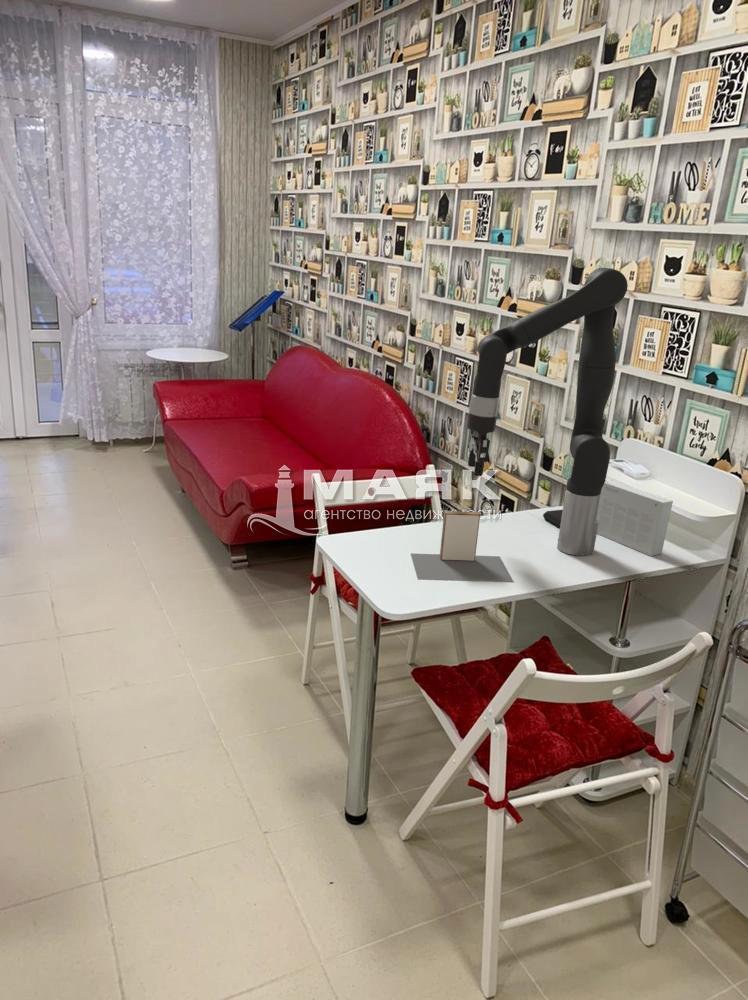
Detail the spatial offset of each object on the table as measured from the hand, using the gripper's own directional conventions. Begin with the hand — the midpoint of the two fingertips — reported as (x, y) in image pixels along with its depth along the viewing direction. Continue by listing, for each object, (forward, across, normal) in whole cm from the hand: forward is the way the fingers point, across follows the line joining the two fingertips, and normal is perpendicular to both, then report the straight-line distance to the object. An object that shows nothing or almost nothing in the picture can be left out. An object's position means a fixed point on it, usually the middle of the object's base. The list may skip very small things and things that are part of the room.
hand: (474, 470), depth 204 cm
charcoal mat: (+21, -19, +5) cm, 29 cm away
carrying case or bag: (+20, +16, -35) cm, 44 cm away
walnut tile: (+20, -14, +5) cm, 25 cm away
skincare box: (+20, +3, -48) cm, 52 cm away
